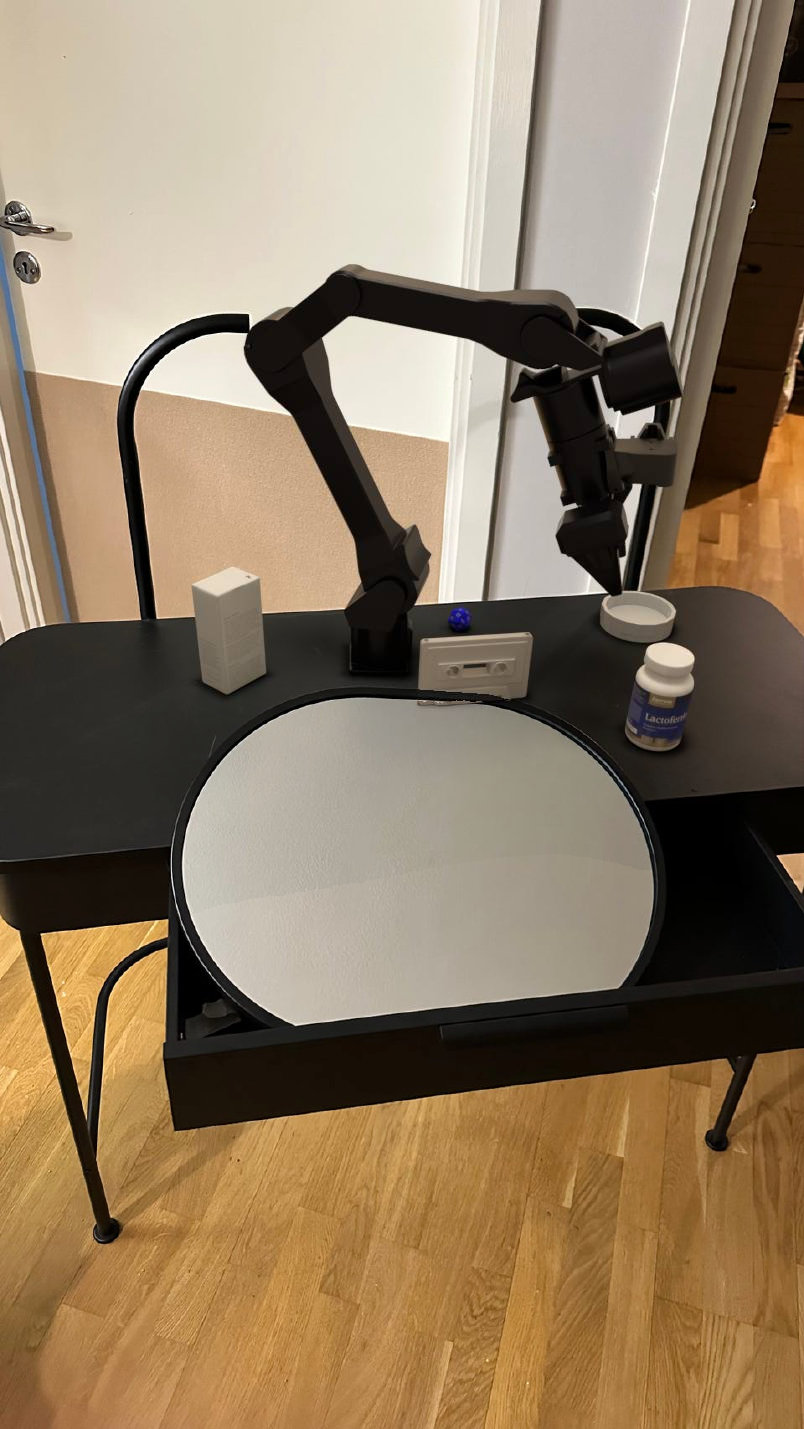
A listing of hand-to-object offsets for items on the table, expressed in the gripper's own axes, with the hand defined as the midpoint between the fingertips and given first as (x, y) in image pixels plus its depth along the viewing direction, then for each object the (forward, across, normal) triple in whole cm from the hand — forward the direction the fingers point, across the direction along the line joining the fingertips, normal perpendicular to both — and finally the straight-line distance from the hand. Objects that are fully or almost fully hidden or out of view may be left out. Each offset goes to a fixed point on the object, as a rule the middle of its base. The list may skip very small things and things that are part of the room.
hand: (619, 575), depth 100 cm
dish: (+14, +17, +3) cm, 23 cm away
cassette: (+8, -5, +18) cm, 20 cm away
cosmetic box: (-3, -8, +42) cm, 43 cm away
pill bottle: (+16, -7, 0) cm, 17 cm away
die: (+6, +10, +22) cm, 25 cm away
